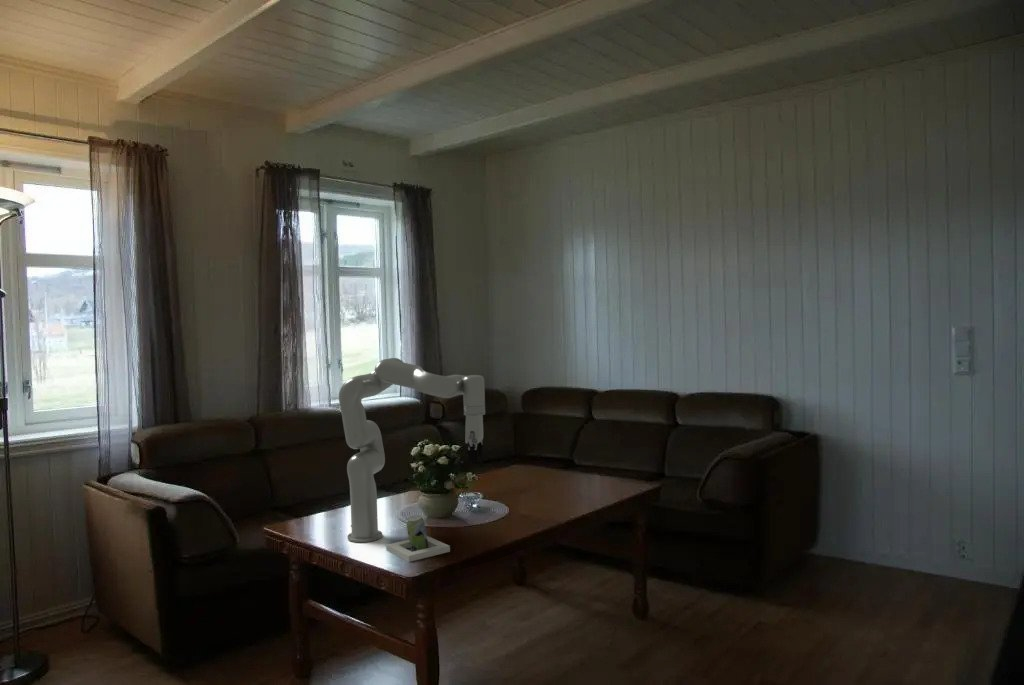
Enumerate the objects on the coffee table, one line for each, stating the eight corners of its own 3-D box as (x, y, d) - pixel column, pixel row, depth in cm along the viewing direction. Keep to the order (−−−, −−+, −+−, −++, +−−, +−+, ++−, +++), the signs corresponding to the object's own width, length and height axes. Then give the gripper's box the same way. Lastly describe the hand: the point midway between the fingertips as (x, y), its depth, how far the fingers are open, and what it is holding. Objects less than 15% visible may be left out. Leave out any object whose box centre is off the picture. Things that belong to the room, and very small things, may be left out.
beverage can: (432, 550, 253) (430, 515, 253) (415, 555, 247) (414, 520, 247) (420, 546, 257) (418, 512, 257) (403, 552, 252) (402, 517, 251)
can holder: (386, 550, 254) (386, 544, 254) (426, 540, 264) (426, 535, 263) (408, 562, 241) (408, 556, 241) (450, 551, 251) (449, 545, 251)
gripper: (469, 407, 266) (470, 454, 267) (458, 413, 249) (460, 463, 250) (489, 407, 265) (490, 454, 266) (480, 413, 248) (481, 463, 249)
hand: (475, 458), depth 258 cm, fingers open, 9 cm apart
